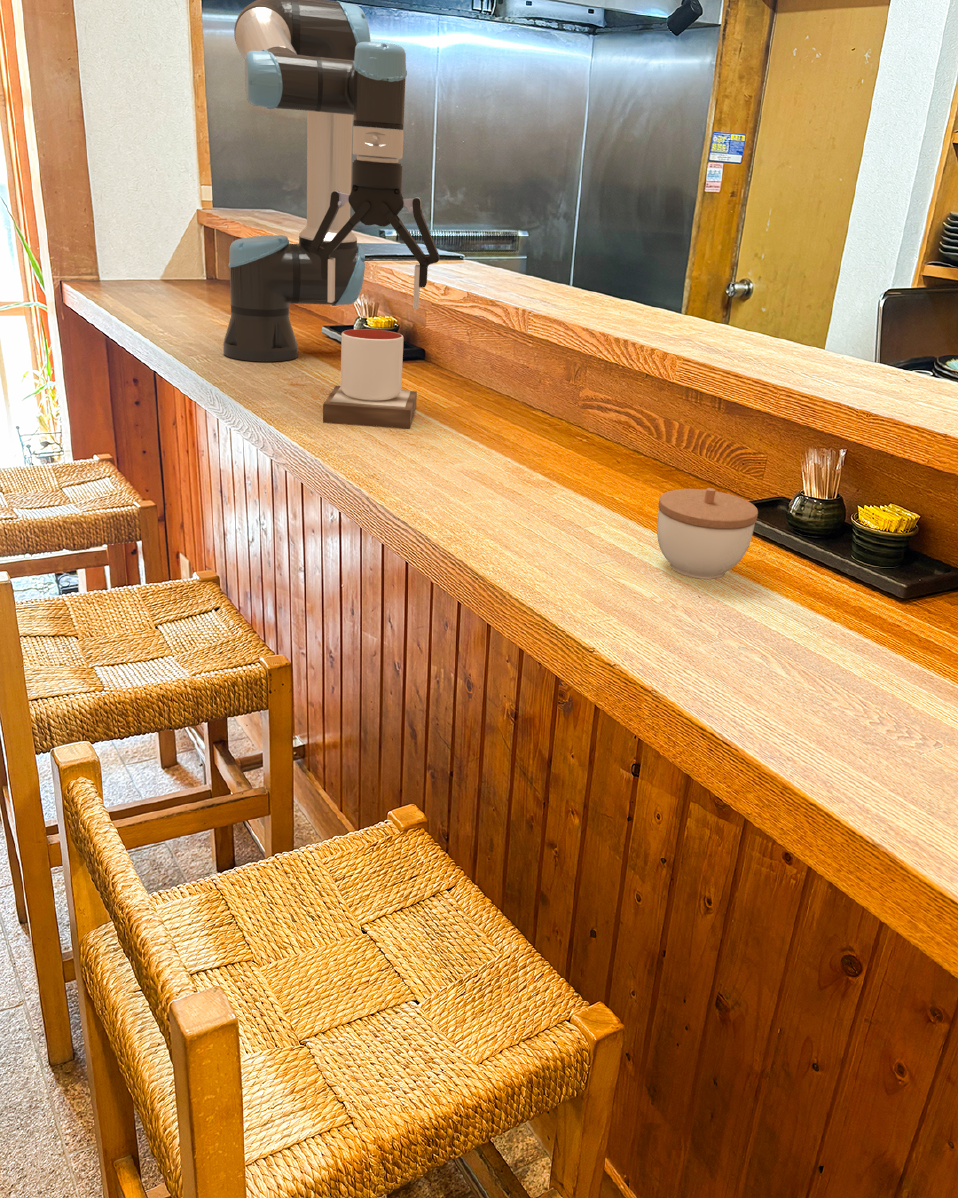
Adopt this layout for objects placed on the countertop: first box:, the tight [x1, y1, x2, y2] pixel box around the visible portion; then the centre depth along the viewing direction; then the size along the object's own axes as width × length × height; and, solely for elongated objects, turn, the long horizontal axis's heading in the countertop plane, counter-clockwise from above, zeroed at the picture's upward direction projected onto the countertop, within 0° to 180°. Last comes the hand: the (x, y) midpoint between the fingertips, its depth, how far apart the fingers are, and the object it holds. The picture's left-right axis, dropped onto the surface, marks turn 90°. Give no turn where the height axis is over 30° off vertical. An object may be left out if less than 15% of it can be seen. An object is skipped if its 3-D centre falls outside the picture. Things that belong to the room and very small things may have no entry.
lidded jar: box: [656, 487, 759, 580], centre depth 108 cm, size 11×11×9 cm
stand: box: [322, 385, 418, 430], centre depth 163 cm, size 14×14×3 cm
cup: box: [340, 328, 404, 401], centre depth 161 cm, size 10×10×10 cm
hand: (373, 304), depth 157 cm, fingers open, 13 cm apart
